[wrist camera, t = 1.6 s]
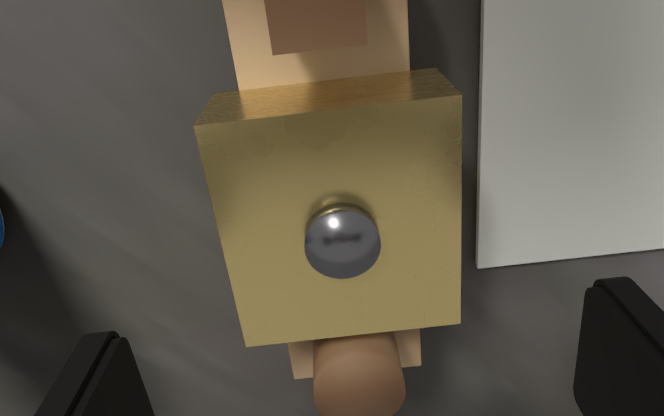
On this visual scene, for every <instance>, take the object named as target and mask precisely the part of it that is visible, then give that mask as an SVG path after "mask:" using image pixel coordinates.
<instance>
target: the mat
mask: <svg viewBox="0 0 664 416" xmlns="http://www.w3.org/2000/svg"><path fill="white" fill-rule="evenodd" d="M662 248H664V0H481V29H480V74H479V119H478V164H477V209H476V254H475V264H476V266H477V268H478V269H480V268H489V267H498V266H507V265H516V264H525V263H534V262H543V261H552V260H562V259H571V258H580V257H589V256H598V255H607V254H616V253H625V252H634V251H643V250H653V249H662Z"/></svg>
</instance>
